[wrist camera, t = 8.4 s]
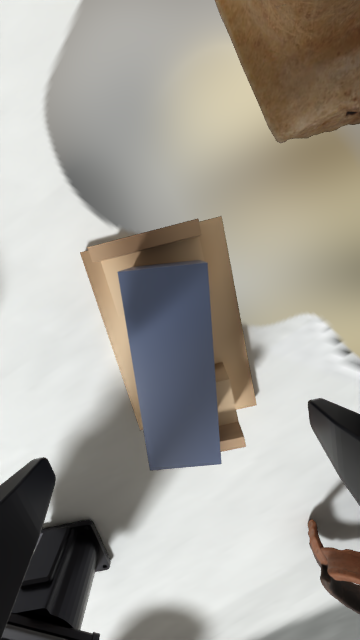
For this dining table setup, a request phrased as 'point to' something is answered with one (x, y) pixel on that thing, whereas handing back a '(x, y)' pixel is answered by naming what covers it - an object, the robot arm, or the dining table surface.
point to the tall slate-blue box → (173, 361)
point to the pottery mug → (337, 570)
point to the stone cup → (299, 61)
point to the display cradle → (226, 323)
